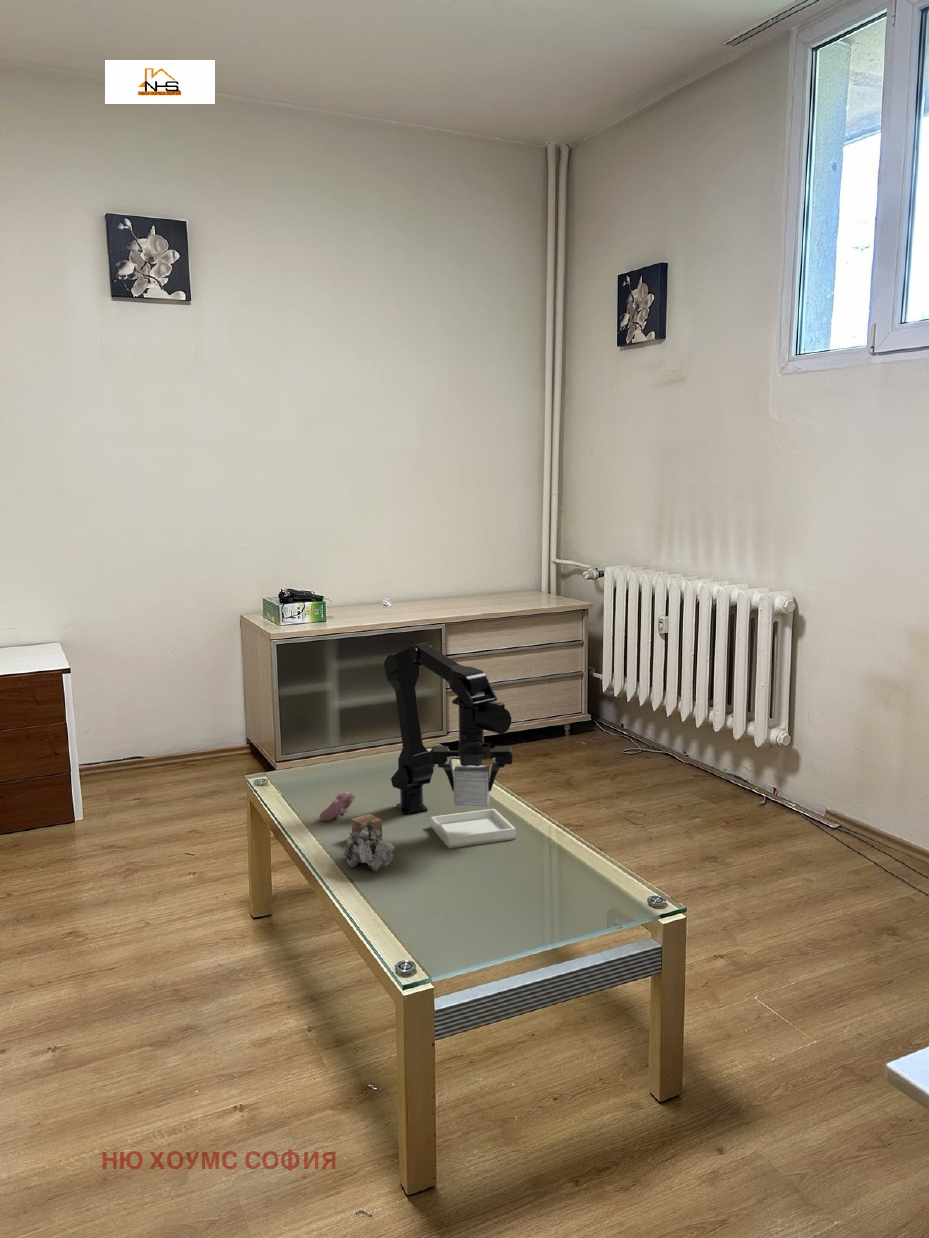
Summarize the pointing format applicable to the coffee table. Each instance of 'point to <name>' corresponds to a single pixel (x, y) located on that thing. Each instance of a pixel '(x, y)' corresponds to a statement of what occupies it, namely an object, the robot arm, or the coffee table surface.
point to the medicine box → (471, 785)
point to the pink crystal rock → (337, 806)
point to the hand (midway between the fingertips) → (471, 790)
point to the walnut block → (363, 820)
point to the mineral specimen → (368, 848)
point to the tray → (472, 828)
